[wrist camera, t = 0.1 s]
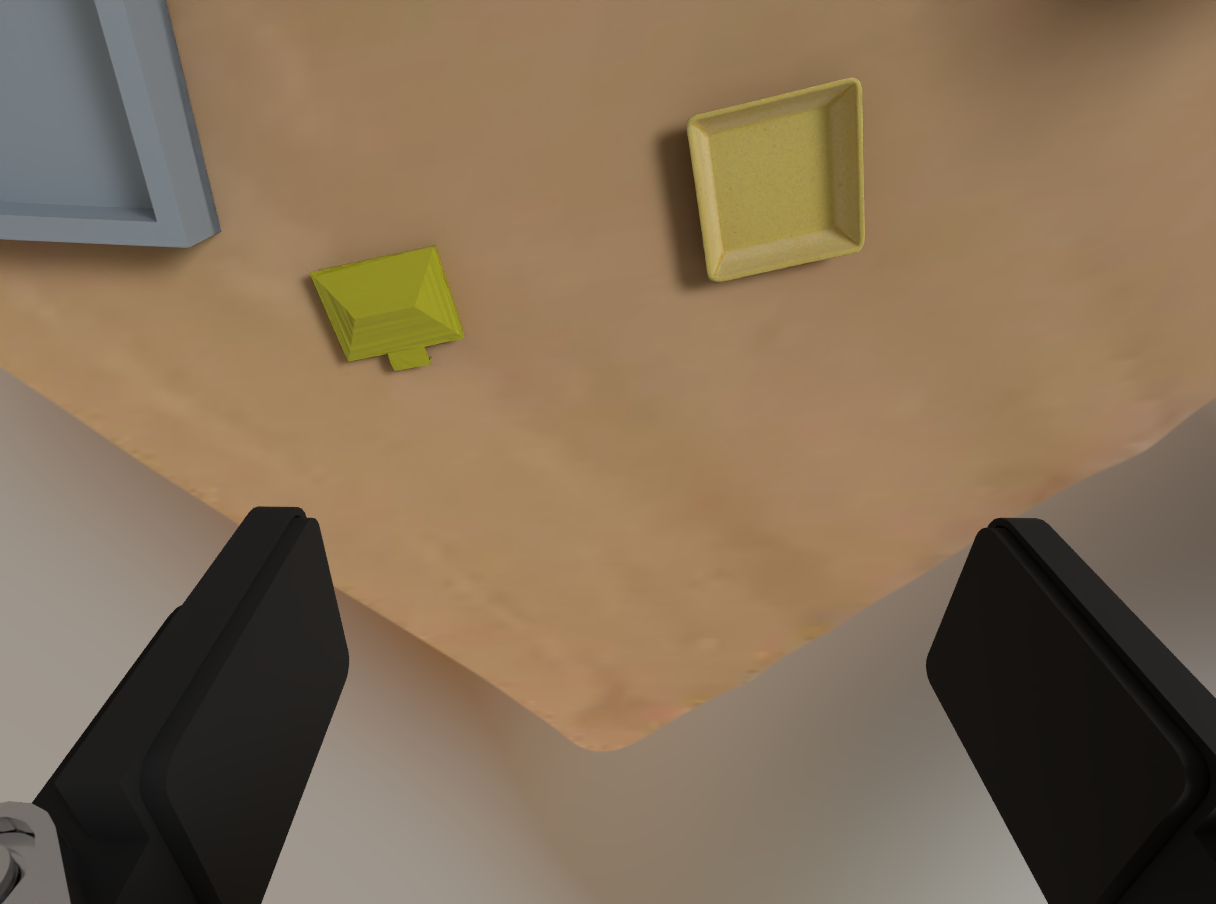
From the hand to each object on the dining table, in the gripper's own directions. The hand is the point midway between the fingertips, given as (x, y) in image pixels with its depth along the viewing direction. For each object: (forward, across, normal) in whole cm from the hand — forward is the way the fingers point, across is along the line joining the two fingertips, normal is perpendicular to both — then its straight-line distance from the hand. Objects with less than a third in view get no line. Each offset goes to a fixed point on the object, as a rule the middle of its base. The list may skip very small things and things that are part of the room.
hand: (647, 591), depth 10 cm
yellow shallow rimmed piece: (+32, -9, -1) cm, 33 cm away
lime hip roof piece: (+32, +12, +7) cm, 35 cm away
